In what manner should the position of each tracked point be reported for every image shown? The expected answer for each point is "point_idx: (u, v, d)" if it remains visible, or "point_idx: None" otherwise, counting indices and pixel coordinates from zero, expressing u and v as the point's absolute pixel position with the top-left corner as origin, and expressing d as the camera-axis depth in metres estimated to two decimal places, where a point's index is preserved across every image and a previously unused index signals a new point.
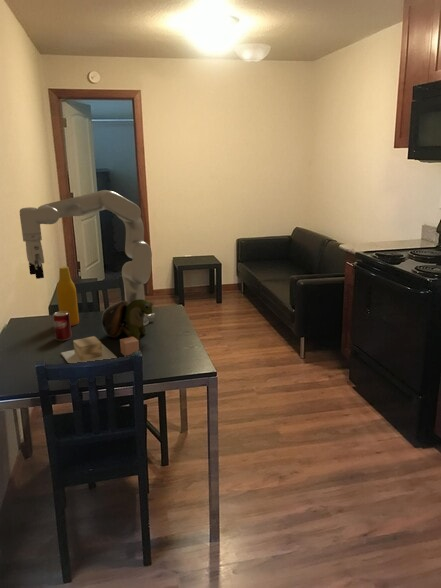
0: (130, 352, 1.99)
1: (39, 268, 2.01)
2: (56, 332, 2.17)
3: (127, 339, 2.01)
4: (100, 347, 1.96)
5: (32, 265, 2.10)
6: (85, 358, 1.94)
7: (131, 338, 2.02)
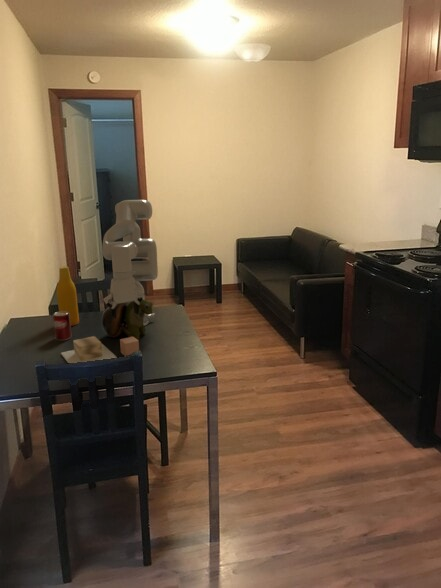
0: (130, 352, 1.99)
1: None
2: (56, 332, 2.17)
3: (127, 339, 2.01)
4: (100, 347, 1.96)
5: None
6: (85, 358, 1.94)
7: (131, 338, 2.02)
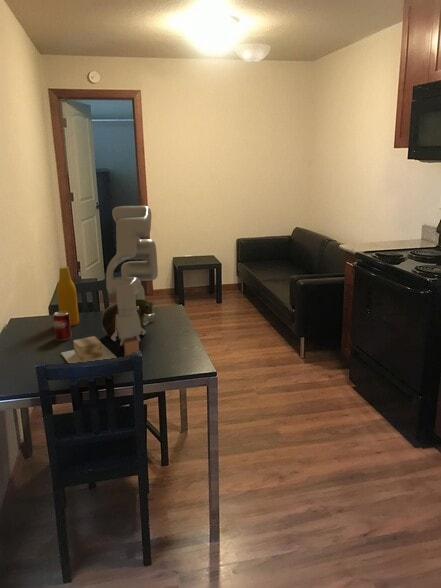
0: (130, 352, 1.99)
1: None
2: (56, 332, 2.17)
3: (127, 339, 2.01)
4: (100, 347, 1.96)
5: (122, 343, 1.99)
6: (85, 358, 1.94)
7: (131, 338, 2.02)
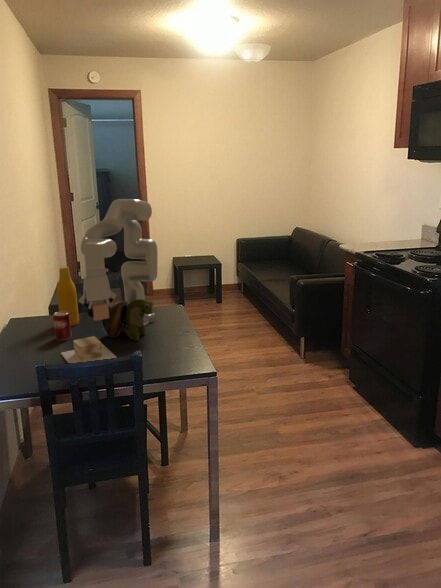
0: (99, 316, 1.92)
1: None
2: (56, 332, 2.17)
3: (96, 303, 1.94)
4: (100, 347, 1.96)
5: (91, 307, 1.92)
6: (85, 358, 1.94)
7: (101, 302, 1.95)
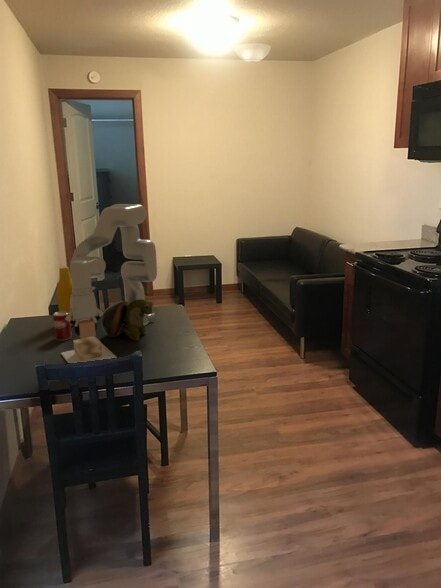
0: (85, 333, 1.93)
1: None
2: (56, 332, 2.17)
3: (83, 320, 1.95)
4: (100, 347, 1.96)
5: None
6: (85, 358, 1.94)
7: (88, 319, 1.96)
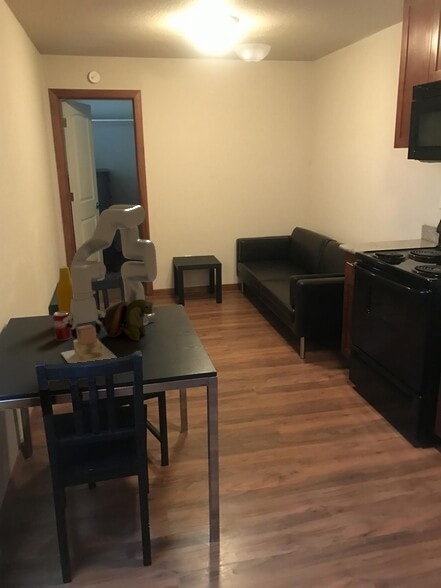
0: (87, 340, 1.94)
1: None
2: (56, 332, 2.17)
3: (84, 327, 1.96)
4: (100, 347, 1.96)
5: None
6: (85, 358, 1.94)
7: (89, 326, 1.97)
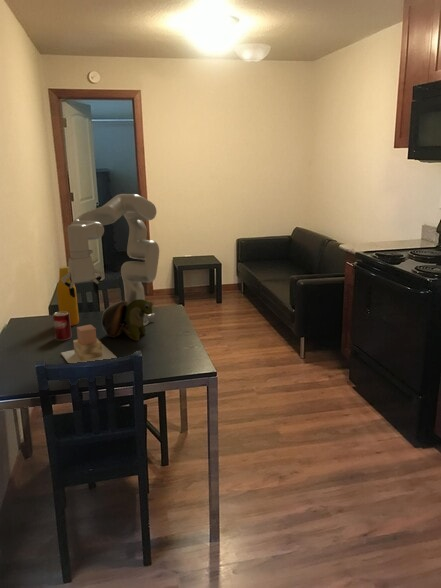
0: (87, 340, 1.94)
1: None
2: (56, 332, 2.17)
3: (84, 327, 1.96)
4: (100, 347, 1.96)
5: None
6: (85, 358, 1.94)
7: (89, 326, 1.97)
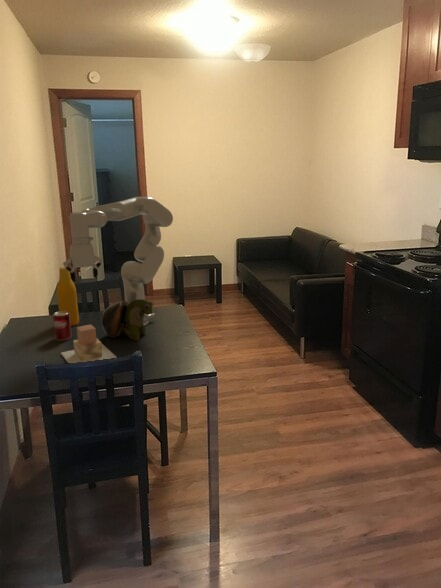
0: (87, 340, 1.94)
1: None
2: (56, 332, 2.17)
3: (84, 327, 1.96)
4: (100, 347, 1.96)
5: None
6: (85, 358, 1.94)
7: (89, 326, 1.97)
